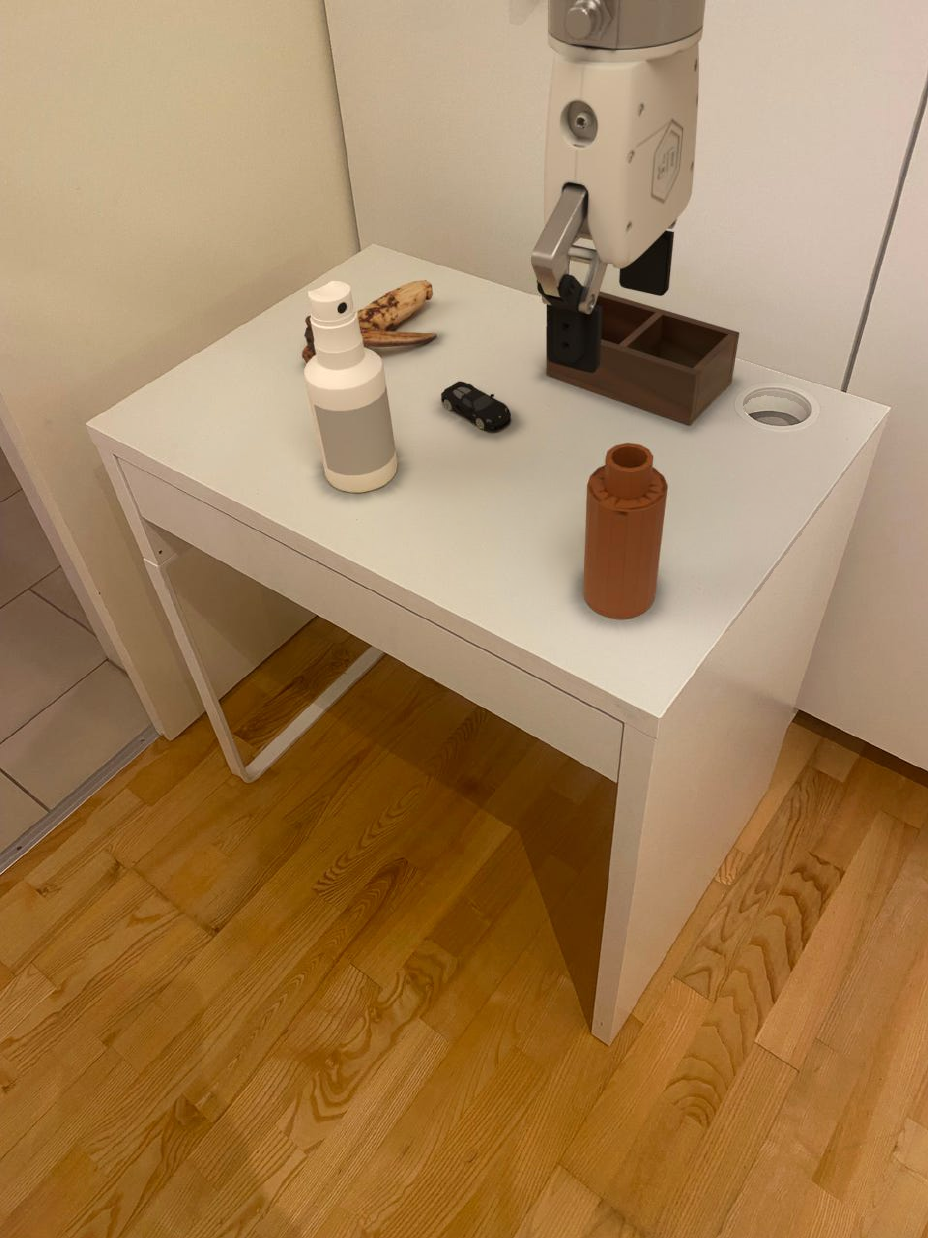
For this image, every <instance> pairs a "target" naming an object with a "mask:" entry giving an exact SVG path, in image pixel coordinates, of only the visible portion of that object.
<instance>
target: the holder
mask: <svg viewBox="0 0 928 1238" xmlns="http://www.w3.org/2000/svg"><path fill="white" fill-rule="evenodd" d="M595 305H598V306H603V308H602V332H601V356H600V366H599V368H598V369H597V370H596V371H595V372H594V373H588V372H584V371H580V370H577V369H573V368H569V367H565V366H562V365H558V364H554V363H551V362H550V361H549V360H548V358H547V325H546V326H545V329H546V330H545V332H546V334H545V335H546V338H545V339H546V340H545V343H546V344H545V345H546V348H545V351H546V352H545V353H546V357H545V359H546V362H545V363H546V364H545V365H546V366H545V367H546V368H545V369H546V370H545V373H546V374H545V375H546V376H547V377H550V378H553V379H556V380H558V381H561V382H564V383H566V384H570V385H573V386H575V387H578V388H581V389H584V390H586V391H589V392H592V393H595V394H598V395H600V396H604V397H607V398H609V399H611V400H615V401H618V402H620V403H624V404H626V405H630V406H632V407H635V408H638V409H641V410H643V411H646V412H648V413H652V414H655V415H657V416H661V417H664V418H665V419H669V420H672V421H675V422H677V423H680V424H683V425H686V426H690V427H691V425H692V424H693V423H694V422H695V421H696V420H697V419H698V418H699V417H700V416H701V415H702V414H703V413H704V412H705V411H706V410H707V409H708V408H709V407H710V406H711V405H712V404H713V403H714V402H715V401H716V399H717V398H719V396H721V395H722V394H723V392H725V390H726V389H727V388H728V387H729V386H730V385H731V384H732V382H733V376H734V371H735V365H736V357H737V351H738V347H739V346H738V345H739V339H740V332H739V331H736V330H733V329H729V328H726V327H723V326H719V325H716V324H713V323H709V322H706V321H702V320H699V319H696V318H692V317H688V316H685V315H683V314H679V313H676V312H672V311H669V310H665V309H661V308H660V307H659V308H658V307H655V306H652V305H649V304H645V303H642V302H638V301H635V300H631V299H628V298H625V297H622V296H618V295H614V294H611V293H607V292H604V291H601V290H600V291H599V294H598V298H597V301H596V304H595Z"/></svg>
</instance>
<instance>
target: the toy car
mask: <svg viewBox="0 0 928 1238" xmlns="http://www.w3.org/2000/svg"><path fill="white" fill-rule="evenodd" d="M494 397H495V394H494V393H491V394H488V393H486V392H484V391H482V390H480V389H478V388H476V387H475V386H474V385H473V384H471V383H467V382H464V381H460V380H459V381H457V382H455V383H454V384H453V383H452V385H449V386H448V387H446V388H444V389H443V391H442V392H441V393H440V400H441V401H440V402H441V403H442V404H443V406H444V408H445V409H446V410H447V411H449V412H451V411H453V412H455V413H456V414H457V415H460V416H462V417H463V418H465V419H467V420H468V421H469V422H471V423H472V424H473V425H476V426H477V428H479V429H480V430H483V431H486V432H498V431H500V430H502V429H504V428H506V427H507V426H508V425H510V423H511V422H512V413H511V410H510V409H509V407H508V406H507V404H505V403H504V402H502V401H501V400H498V399H497V398H494Z"/></svg>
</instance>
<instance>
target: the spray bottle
mask: <svg viewBox="0 0 928 1238" xmlns="http://www.w3.org/2000/svg"><path fill="white" fill-rule="evenodd" d="M307 296H308V302H309V307H310V316H311V318H310V321H311V326H312V331H313V336H314V346H315V351H316V355H315V356H313V357H312V359H311V360H310V361H309V362H308V363H307V362H306V364H305V367H304V369H303V379H304V383H305V387H306V392H307V396H308V401H309V406H310V412H311V415H312V420H313V424H314V429H315V434H316V439H317V444H318V449H319V452H320V456H321V457H320V458H321V461H322V466H323V471H324V475H325V479H326V480H327V481H328V482H329V483H330V485H331V486H333V487H334V488H335V489H337V490H339V491H343V492H346V493H365V492H371V491H374V490H377V489H379V488H382V487H384V486H385V485H386V484H388V483H389V482H390V481H391V480H392V479H393V478H394V476H395V475H396V473H397V470H398V465H399V464H398V463H399V462H398V456H397V450H396V443H395V436H394V429H393V428H394V427H393V423H392V422H393V421H392V416H391V409H390V401H389V394H388V388H387V381H386V374H385V367H384V363H383V360H382V357H381V356H380V355H379V354H378V353H376V351H374V350H372V349H370V348H369V347H366V346H364V345H363V339H362V335H361V333H360V326H359V320H358V314H357V311H358V310H357V309H356V308H355V305H354V301H353V295H352V290H351V286H350V285H349V284H348V283H346V282H344V281H339V280H331V281H329V282H328V283H326V284H325V285H322V286H320V287H319V288H316V289H313V290H308V292H307Z"/></svg>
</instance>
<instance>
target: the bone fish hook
mask: <svg viewBox="0 0 928 1238" xmlns="http://www.w3.org/2000/svg"><path fill="white" fill-rule="evenodd" d="M433 290H434V289H433V284H432V283H431V282H430V281H427V279H424V280H415V281H411V282H407V283H406V284H403V285H401V286H399V287H397V288H395V289H394V290H391V291H388V292H386V293H385V294H383V295H382V296H380V297H378V298H376V299H375V300H373V301H372V302H370V303H369V304H368V305H366V306H365V307H364V308H362V309H359V310H356V311H357V314H358V320H359V326H360V333H361V335H362V339H363V345H364V347H365V348H371V347H372V348H395V347H396V348H397V347H410V346H411V347H412V346H419V345H424V344H427V343H429V342H431V341H433V340H435V339H436V338H437V336H438V334H437V333H434V332H416V331H415V332H414V331H392V330H394V329H396V328H397V326H398V325H399V324H400V323H401V322H403V321H404V320H406V319H407V318H409V317H410V316H411V315H412V314H413V313H415V312H416V311H418V310H419V309H420V308H422V307H423V306H424V305H425V304H426V301H430V300H432V299H433V296H434V291H433ZM310 318H311V315H307V316H306V317H305V320H304V322H305V323H306V326H307V327H306V328H305V332H304V335H303V336H304V338H305V340H306V344H307V345H305V347H304V348H303V350H302V352H301V357H302V359H303V360H304V361H305V363H306V364H307V363H308V362H309V361H310V360H311V359H312V357H313V356H315V355H316V351H315V346H314V336H313V331H312V326H311V321H310Z"/></svg>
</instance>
